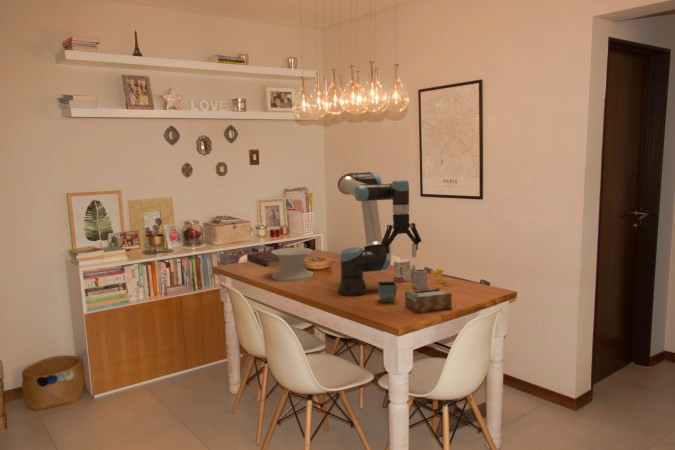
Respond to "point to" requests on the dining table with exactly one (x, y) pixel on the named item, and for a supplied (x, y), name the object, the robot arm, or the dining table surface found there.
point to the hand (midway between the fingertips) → (401, 258)
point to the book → (264, 258)
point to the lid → (422, 294)
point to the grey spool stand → (292, 264)
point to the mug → (419, 278)
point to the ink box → (401, 270)
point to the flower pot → (387, 291)
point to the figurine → (438, 275)
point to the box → (429, 302)
